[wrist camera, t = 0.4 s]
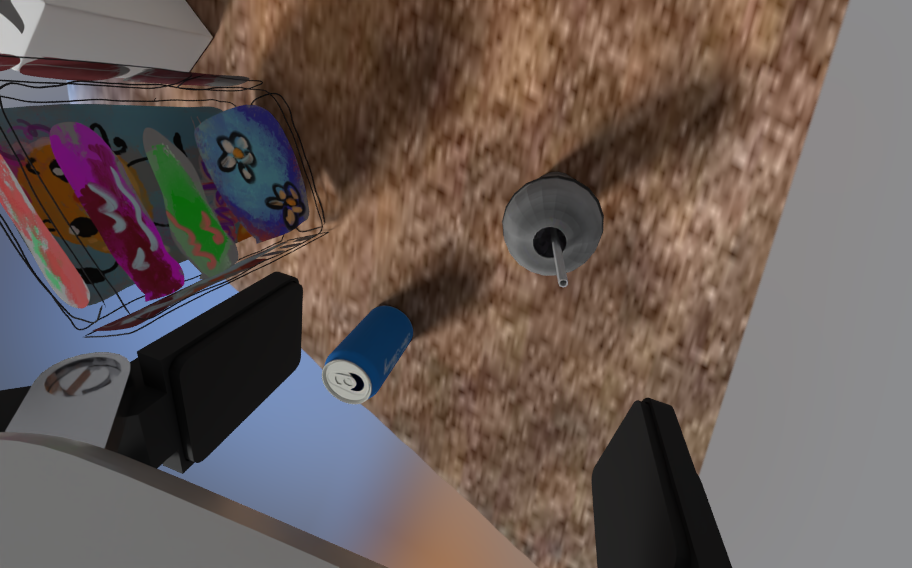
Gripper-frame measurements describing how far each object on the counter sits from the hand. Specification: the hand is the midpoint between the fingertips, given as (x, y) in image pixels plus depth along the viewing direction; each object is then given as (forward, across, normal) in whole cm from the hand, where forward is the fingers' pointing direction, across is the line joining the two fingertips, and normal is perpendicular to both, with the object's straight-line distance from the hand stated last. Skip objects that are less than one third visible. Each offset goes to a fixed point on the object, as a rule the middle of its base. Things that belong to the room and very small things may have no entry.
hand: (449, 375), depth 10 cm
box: (+32, +30, +2) cm, 43 cm away
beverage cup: (+32, -2, +1) cm, 32 cm away
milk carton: (+32, +41, -5) cm, 52 cm away
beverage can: (+32, +12, +23) cm, 41 cm away
